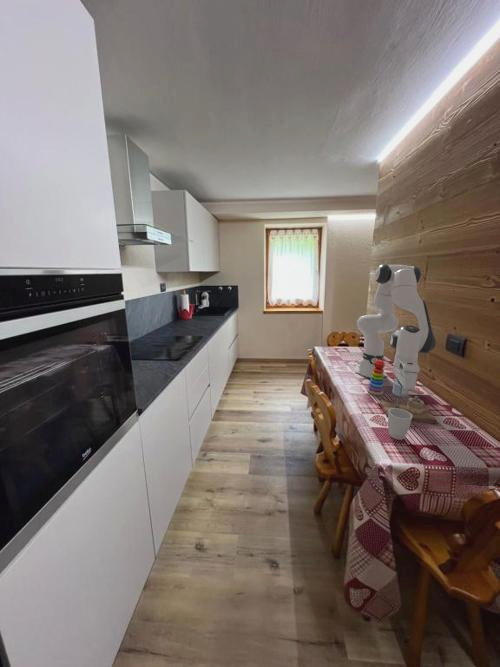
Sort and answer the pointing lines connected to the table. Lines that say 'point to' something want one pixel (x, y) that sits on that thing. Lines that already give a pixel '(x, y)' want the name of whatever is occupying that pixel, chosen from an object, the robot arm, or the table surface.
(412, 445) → the table surface
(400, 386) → the loose gear
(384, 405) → the gear board
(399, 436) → the cup
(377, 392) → the stacking toy
